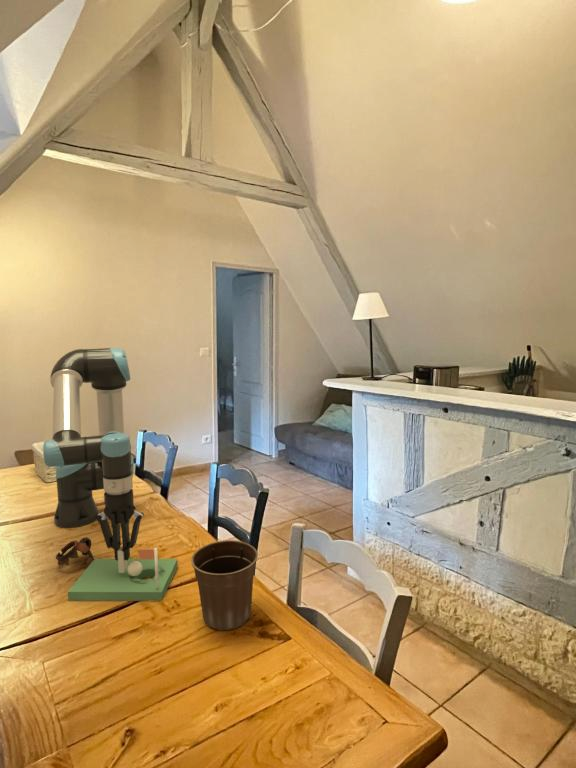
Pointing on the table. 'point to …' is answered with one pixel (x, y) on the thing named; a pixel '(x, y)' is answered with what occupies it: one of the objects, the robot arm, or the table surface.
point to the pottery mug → (75, 551)
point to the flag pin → (151, 555)
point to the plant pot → (225, 582)
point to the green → (122, 581)
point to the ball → (134, 568)
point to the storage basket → (42, 464)
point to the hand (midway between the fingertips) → (123, 570)
